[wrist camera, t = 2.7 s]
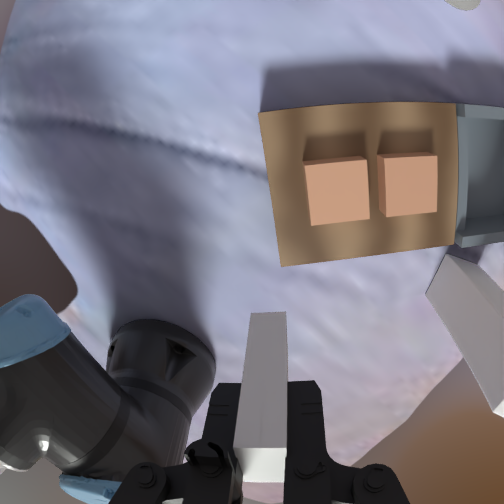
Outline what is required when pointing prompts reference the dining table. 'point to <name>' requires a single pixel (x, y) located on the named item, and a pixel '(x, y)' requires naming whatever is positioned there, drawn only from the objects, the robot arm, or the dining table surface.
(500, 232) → the tray
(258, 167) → the dining table surface
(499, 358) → the milk
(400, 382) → the dining table surface
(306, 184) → the tile
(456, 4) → the wineglass
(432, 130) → the board
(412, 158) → the tile
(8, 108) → the dining table surface
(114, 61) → the dining table surface
